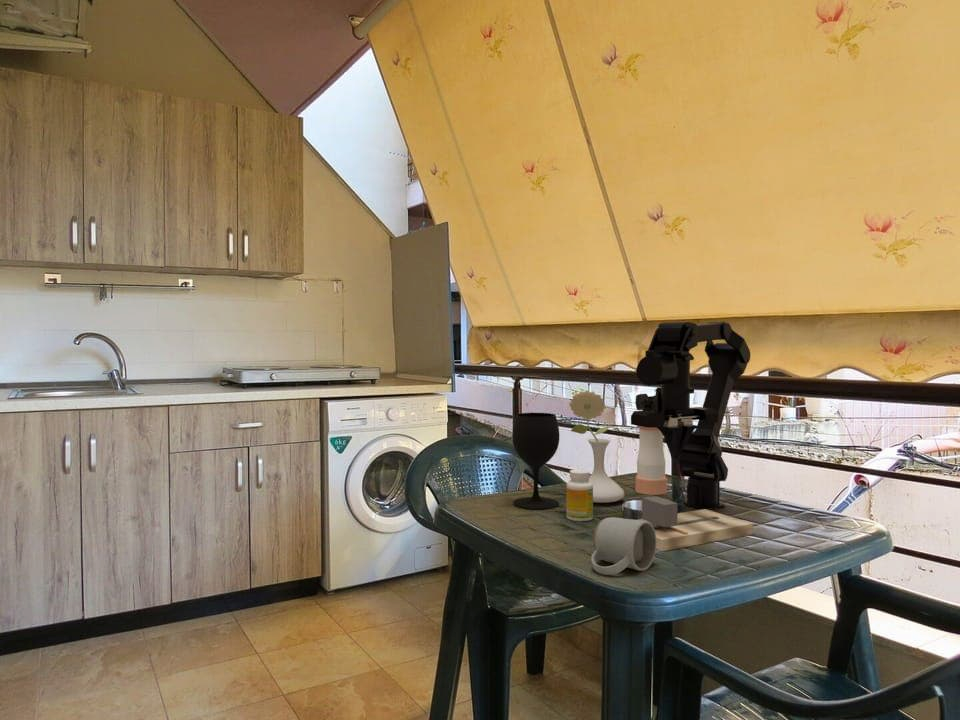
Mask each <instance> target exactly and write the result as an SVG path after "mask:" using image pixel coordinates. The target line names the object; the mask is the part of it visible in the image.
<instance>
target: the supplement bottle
mask: <svg viewBox="0 0 960 720" xmlns="http://www.w3.org/2000/svg"><path fill="white" fill-rule="evenodd" d="M590 475H591V474H590V471H589V470H587V469H571V470H569V479H570V480H568V482H566V503H565V504H566V505H565V506H566V507H565V508H566V509H565V511H566V514H565V515H566V518H567V519H568V520H570V521H573V522H588V521H591V520H593V518H594V502H593V484H592V483H591V482H590V481H589V480H588V479H589V477H590Z"/></svg>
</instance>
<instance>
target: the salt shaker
mask: <svg viewBox="0 0 960 720" xmlns="http://www.w3.org/2000/svg"><path fill="white" fill-rule="evenodd" d="M636 427H637V428H638V429H639V441H638V443H639V445H638V447H639V448H638V454H637V458H636V460H637V461H636V475H635V491H636V492H637V493H638V494H642V495H652V496H657V495H659V496H660V495H664V494H667V493H668V490H667V488H668V484H667V483H668V479H667V476H666V457H665V451H664V436H663V434H662V433H661V431H660V430H659V429H658V428H655V427H653V428H649V427H642V426H636Z"/></svg>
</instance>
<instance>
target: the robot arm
mask: <svg viewBox="0 0 960 720" xmlns="http://www.w3.org/2000/svg"><path fill="white" fill-rule="evenodd" d="M717 340H719V341H721V340H722V341H724V342H716V343H714V341H717ZM703 342H706V344H705V347H704V352H705V354H706V356H707V358H708V361H707V362H708V366H709V370H710V372H711V378H710V381H709V384H708V388H707V391H706V395H705V397H704V400H703V405H702V406H694V407H691V404H690V403H691V402H690V401H691V394H695V388H693V387H691V383H690V382H691V361H694V360H695V356H694V355H693V354H692V353H691V352H690V351H691V350H692V349H693V348H696V347H697V346H698V343H703ZM644 354H645V355H644V357H642V358H641V359H640V360H639V361H638V364H637V366H636V367H635V370H636V377H637V379H638V380H639V382H641V383H642V384H644V385H646V386H658V385H660V387H656V389H655V394H654V395H651V396H648V394H647V393H638V394H637V395H636V394H635V403H634V404H635V407H636V410H634V411H633V412H632V413H631V415H630V425H633V426H636V427H637V426H642V427H649V428H653V427H655V428H658V429H659V430H660V431H661V433H662V434H663V439H664V441H665V444H666V446H667V448H668V449H667V450H668V452H669V455H670V458H671V459H672V460H677V461H678V466H679V470H680V476H681V477H686V478H687V484H686V500H684V501H682V505H686V506H689V507H693V508H696V509H698V510H703V509H707V510H713V509H718V508H725V506H726V504H724V503H722V502H720V497H721V496H720V494H721V493H720V482H726V480H727V479H728V472H729V468H728V467H727V464H726V463H725V461H724V459H723V457H722V456H723V448H722V447H721V444H720V441H719V435H720V431H721V429H722V425H723V422H724V418H725V416H726V415H725V414H726V411H727V407H728V404H729V399H730V396H731V394H732V393H731V392H732V389H733V386H734V382H735V381H736V380H738V378H740V377H741V376H742V375H743V374H745V371H746V368H747V366H748V363H750V361H751V350H750V348H749V346H748V344H747V341H746V340H745V338H744V337H743V336H742V335H740V334H738V333H737V332H736V331H735V330H733V328H732V327H731V324H730V323H729V322H726V321H709V322H707V323H706V322H705V323H700V324H698V323H695V322H692V321H663V322H660V323H659V324H658V327H657V328H656V329H655V331H654V334H653V336H652V339H651V341H650V344H649V347H648V348H647V350H645V353H644ZM694 421H697V425H695V424H694Z"/></svg>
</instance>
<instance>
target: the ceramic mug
mask: <svg viewBox="0 0 960 720" xmlns="http://www.w3.org/2000/svg"><path fill="white" fill-rule="evenodd" d="M592 540H593V543H592V544H593V548H594V551H593V553H592V555H591V558H590V560H591V564H592V567H593V570H594V571H595V572H596V573H598V574H600V575H604V576H611V575H612V576H613V575H616V574H618V573H621V572H622V571H624V570H625V569H626V568H628V569H631V570H636V571H640V572H643V571H646V570H648V569H649V568H650V567H651V565H652V563H653V561H654V560H655V556H656V551H657V549H656V542H657V541H656V533H655V530H654V527H653V526H652V524H651V523H650V522H648V521H641V520H638V519H631V518H623V517H615V516H614V517H612V516H611V517H606V518H603V519H601V520H600V521H599V522H598V523H597V525H596V527H595V529H594V533H593V539H592ZM599 559H601V560H603V561H604V562H606V563H610V564H613V565H609V566H602V565H599V564H597V562H598V560H599Z"/></svg>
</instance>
